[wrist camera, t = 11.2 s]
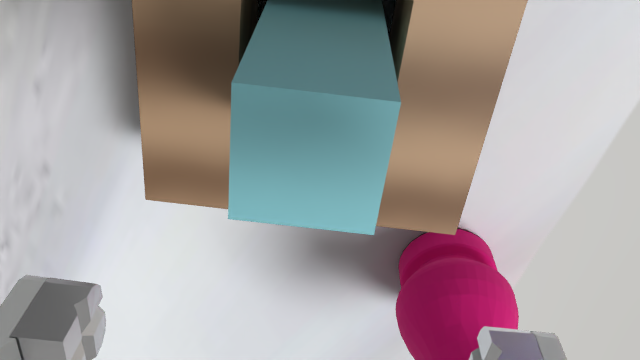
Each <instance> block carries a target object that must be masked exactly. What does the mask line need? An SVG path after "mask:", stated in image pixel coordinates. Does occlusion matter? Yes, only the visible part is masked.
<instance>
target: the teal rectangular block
mask: <svg viewBox="0 0 640 360" xmlns="http://www.w3.org/2000/svg"><path fill="white" fill-rule="evenodd" d="M400 105H401V99H400V94H399V89H398V83H397V78H396V73H395V68H394V62H393V57H392V52H391V47H390V41H389V36H388V31H387V26H386V21H385V15H384V10H383V5H382V0H267V3H266V5H265V7H264V10H263V12H262V14H261V16H260V19H259V21H258V23H257V26H256V28H255V30H254V32H253V35H252V37H251V39H250V41H249V44H248V46H247V48H246V51H245V53H244V55H243V57H242V60H241V62H240V64H239V66H238V69H237V71H236V73H235V76H234V78H233V80H232V82H231V124H230V165H229V206H228V219H233V220H242V221H251V222H260V223H269V224H278V225H287V226H296V227H305V228H314V229H323V230H332V231H341V232H350V233H359V234H368V235H374V232H375V228H376V223H377V218H378V213H379V208H380V203H381V198H382V193H383V188H384V184H385V179H386V174H387V169H388V164H389V159H390V154H391V149H392V144H393V139H394V135H395V130H396V125H397V120H398V115H399V110H400Z"/></svg>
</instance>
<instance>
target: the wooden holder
mask: <svg viewBox="0 0 640 360" xmlns="http://www.w3.org/2000/svg"><path fill="white" fill-rule="evenodd" d="M527 1H528V0H396V2H395V8H394V13H393V19H392V24H391V30H390V35H389V41H390V47H391V52H392V57H393V62H394V68H395V73H396V78H397V83H398V89H399V94H400V99H401V105H400V110H399V115H398V120H397V125H396V130H395V135H394V139H393V144H392V149H391V154H390V159H389V164H388V169H387V174H386V179H385V184H384V188H383V193H382V198H381V203H380V208H379V213H378V218H377V223H376V226H381V227H389V228H398V229H407V230H416V231H424V232H433V233H442V234H451V235H455V234H456V231H457V227H458V224H459V221H460V218H461V215H462V211H463V208H464V205H465V202H466V198H467V195H468V192H469V189H470V185H471V182H472V179H473V176H474V172H475V169H476V166H477V163H478V159H479V156H480V153H481V150H482V147H483V143H484V140H485V137H486V134H487V130H488V127H489V124H490V121H491V117H492V114H493V111H494V108H495V104H496V101H497V98H498V95H499V91H500V88H501V85H502V82H503V79H504V75H505V72H506V69H507V66H508V62H509V59H510V56H511V53H512V49H513V46H514V43H515V40H516V36H517V33H518V30H519V27H520V23H521V20H522V17H523V14H524V11H525V7H526V4H527ZM132 12H133V26H134V40H135V55H136V69H137V83H138V98H139V112H140V126H141V141H142V155H143V169H144V184H145V198H146V200H153V201H162V202H170V203H179V204H188V205H197V206H205V207H214V208H223V209H228V206H229V165H230V124H231V82H232V80H233V78H234V76H235V73H236V71H237V69H238V66H239V64H240V62H241V60H242V57H243V55H244V53H245V51H246V48H247V46H248V44H249V41H250V39H251V37H252V35H253V32H254V30H255V28H256V26H257V15H258V0H132Z"/></svg>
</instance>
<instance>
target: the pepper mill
mask: <svg viewBox="0 0 640 360" xmlns="http://www.w3.org/2000/svg"><path fill="white" fill-rule="evenodd" d="M399 275H400V284H401V290H400V292H399V295H398V298H397V302H396V317H397V322H398V326H399V330H400V333H401V336H402V338H403V340H404V342H405V344H406V346H407V348H408V350H409V352H410V353H411V355H412V356H413V357H414V359H415V360H469V358H470V355H471V352H472V351H474V350H476V349H477V348H479V344H478V340H477V337H478V335H479V332H480V330H481V329H482V328H483V327H484V326H487V327H497V328H507V329H517V330H518V317H519V316H518V308H517V304H516V299H515V295H514V292H513V290H512V288H511V286H510V284H509V283H508V282H507V280H506V279H505V278H504V277H503V276H502V275H501V274H500V273H499V272H498V271H497V268H496V265H495V262H494V259H493V256H492V253H491V250H490V249H489V247H488V245H487V244H486V243H485V242H484V241H483V240H482V239H481V238H480V237H478V236H477V235H475V234H473V233H471V232H468V231H464V230H461V229H457V231H456V234H455V235H451V234H442V233H433V232H428V233H425V234H423V235H421V236H420V237H418V238H416V239H415V240H413V241H412V242H411V243H410V244H409V245H408V246H407V248H406V249H405V250H404V251H403V253H402V255H401V258H400V261H399Z"/></svg>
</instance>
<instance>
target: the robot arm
mask: <svg viewBox="0 0 640 360" xmlns="http://www.w3.org/2000/svg"><path fill="white" fill-rule="evenodd" d="M101 299H102V291H101V286H100V285H98V284H93V283H86V282H79V281H71V280H64V279H57V278H46V277H39V276H31V275H25V276H24V277H22V278H21V279H19V280H18V282H17V283H16V285H15V286H14V287H13V289H12V290H11V292H10V293H9V295H8V296H7V297H6V299H5V300H4V302H3V303H2V304H1V306H0V360H92V359H93V358H95V357H96V356H97V354H98V352H99V350H100V348H101V345H102V342H103V338H104V334H105V326H106V318H105V312H104V311H103V310H102V309H101V308H100V307H99V306H98V305H99V303H100V301H101ZM477 340H478V344H479V348H477V349H476V350H474V351H472V352H471V355H470V358H469V360H567V358H566V356H565V353H564V351H563V348H562V346H561V343H560V341H559V339H558V337H557V336H556V335H555V334H554V333H545V332H536V331H527V330H517V329H507V328H497V327H487V326H484V327H483V328H482V329H481V330H480V332H479V335H478V337H477Z"/></svg>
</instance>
